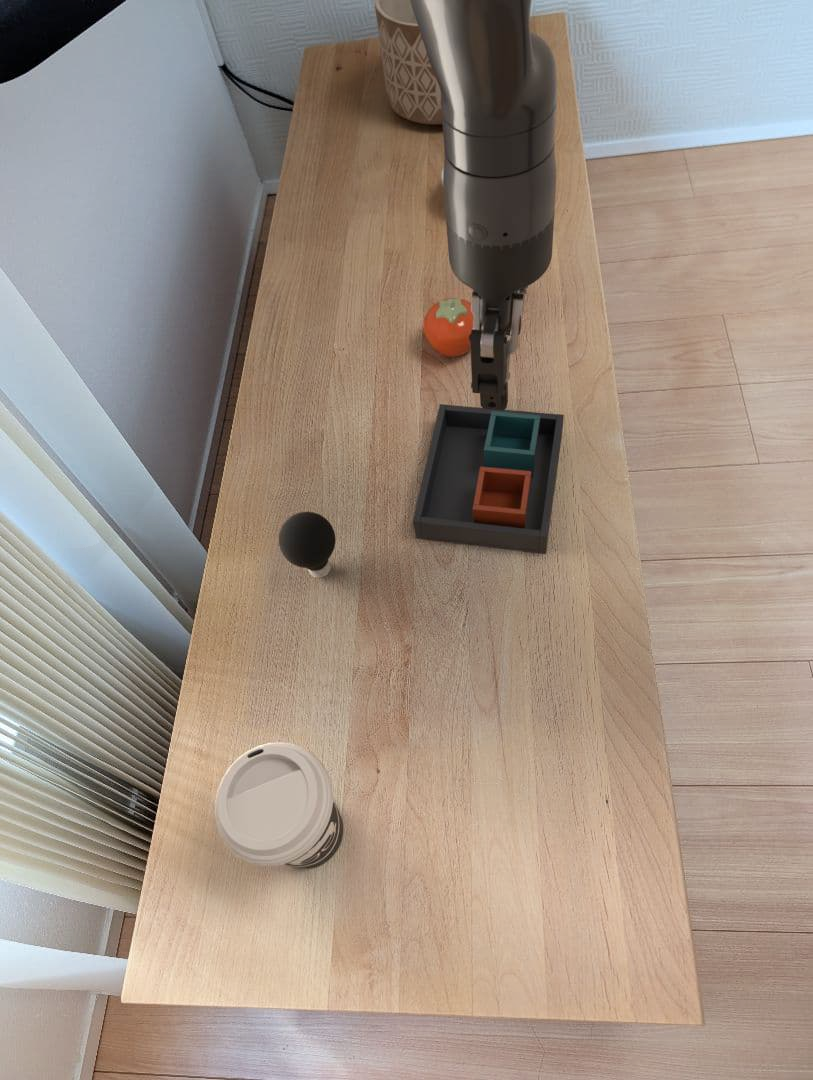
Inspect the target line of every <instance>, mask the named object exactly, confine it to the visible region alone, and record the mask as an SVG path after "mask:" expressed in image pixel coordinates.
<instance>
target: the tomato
mask: <svg viewBox="0 0 813 1080" xmlns="http://www.w3.org/2000/svg"><path fill="white" fill-rule="evenodd" d="M473 321H474V315H473V313H472V311H471V302H470V301H468V300H466V299H463V298H459V297H447V298H444V299H441V300H439V301H437V302H436V303H434V304H433V305H431V306H430V307H429V308H428V310H427V312H426V314H425V316H424V317H423V332H424V335H425V338H426V340H427V342H428V344H429V345H430V347H432V349H433V350H435V352H437V353H438V354H440V355H441V356H443V357H448V358H456V357H460V356H463V355H465V354H467V353H469V351H471V348H470V341H469V335H470V334H471V331H472V329H473Z"/></svg>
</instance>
